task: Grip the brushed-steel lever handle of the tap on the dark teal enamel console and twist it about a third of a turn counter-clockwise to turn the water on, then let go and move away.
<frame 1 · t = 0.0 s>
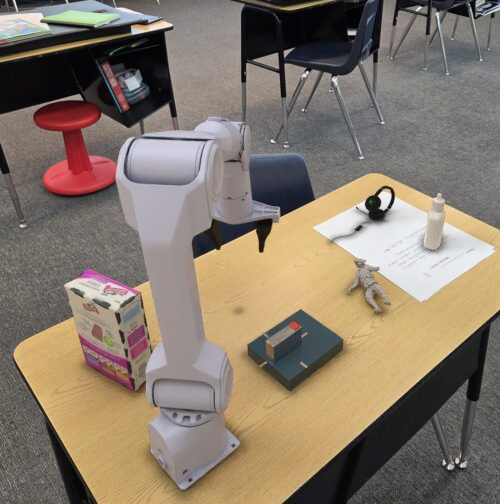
hand: (240, 247, 96), 11 cm above the table, tool pointing down, fingers open, 7 cm apart
candy bar box: (121, 368, 86), on the table
tap handle: (284, 341, 85), point 4 cm above the table, hinge at 0.0°
soldier figure: (369, 294, 101), on the table
eye dropper bottle: (431, 243, 115), on the table
headset: (357, 222, 122), on the table
tap console: (295, 352, 89), on the table
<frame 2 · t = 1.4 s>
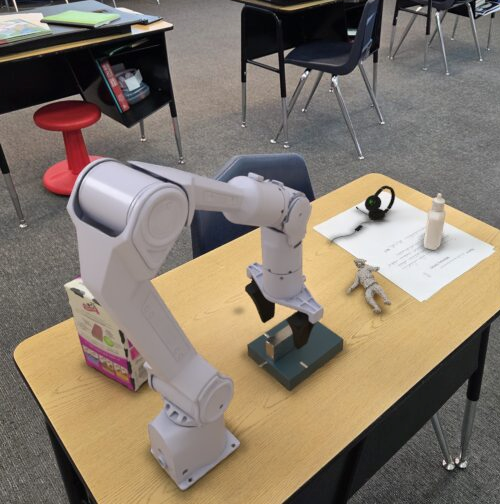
hand: (284, 331, 84), 6 cm above the table, tool pointing down, fingers open, 7 cm apart
nothing on the table moved.
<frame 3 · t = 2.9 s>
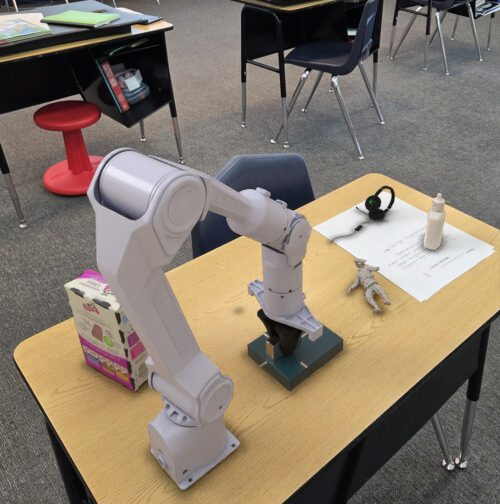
hand: (284, 347, 86), 3 cm above the table, tool pointing down, fingers closed on tap handle, 2 cm apart
tap handle: (284, 341, 85), point 4 cm above the table, hinge at -0.1°, touching gripper
everything else where it was.
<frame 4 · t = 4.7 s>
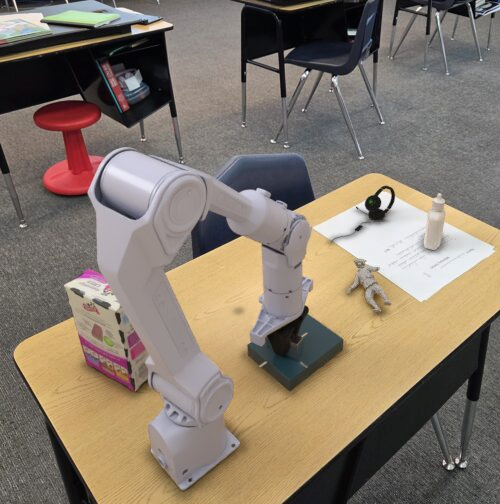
hand: (284, 348, 86), 3 cm above the table, tool pointing down, fingers closed on tap handle, 2 cm apart
tap handle: (284, 341, 85), point 4 cm above the table, hinge at 104.6°, touching gripper
everything else where it was.
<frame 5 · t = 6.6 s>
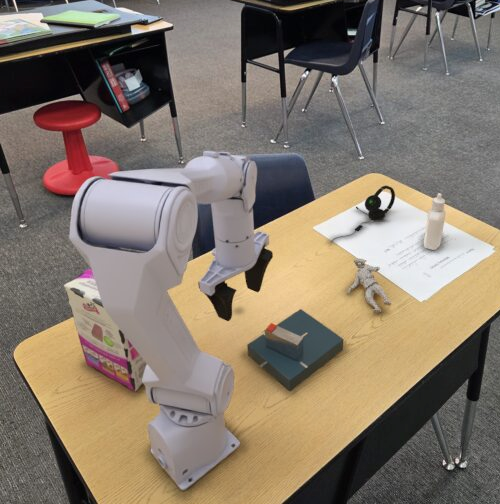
hand: (239, 303, 85), 9 cm above the table, tool pointing down, fingers open, 7 cm apart
tap handle: (284, 341, 85), point 4 cm above the table, hinge at 104.6°
everything else where it was.
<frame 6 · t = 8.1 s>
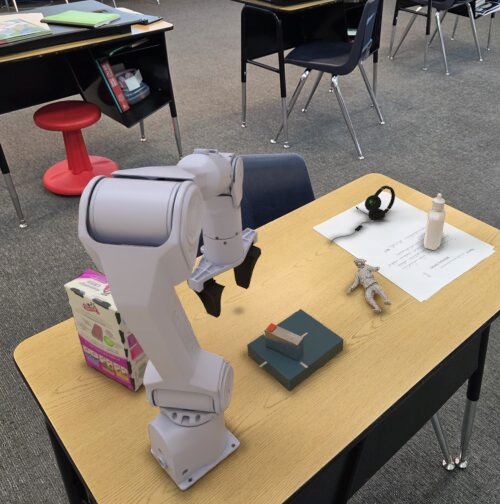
hand: (228, 299, 86), 9 cm above the table, tool pointing down, fingers open, 7 cm apart
nothing on the table moved.
at the end: tap handle at +105° (first picture: +0°) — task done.
